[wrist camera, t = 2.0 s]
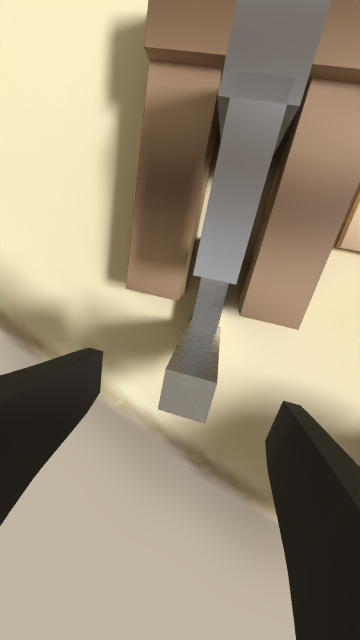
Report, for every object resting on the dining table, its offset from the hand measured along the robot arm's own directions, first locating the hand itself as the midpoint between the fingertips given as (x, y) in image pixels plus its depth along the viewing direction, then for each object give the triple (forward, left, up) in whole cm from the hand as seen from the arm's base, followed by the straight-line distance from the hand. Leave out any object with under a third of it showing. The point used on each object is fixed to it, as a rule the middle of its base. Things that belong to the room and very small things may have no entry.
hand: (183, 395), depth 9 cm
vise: (+10, 0, -6) cm, 12 cm away
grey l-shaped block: (+3, 0, -6) cm, 7 cm away
